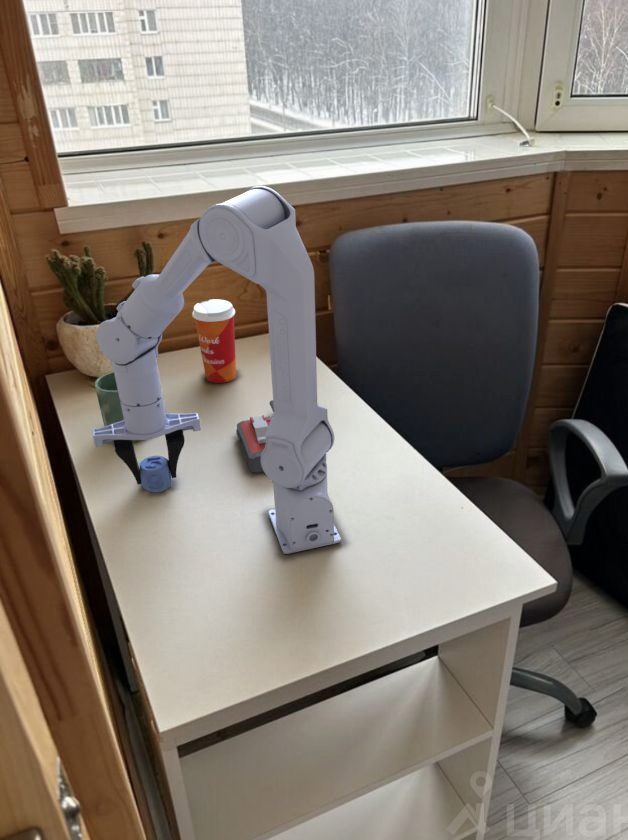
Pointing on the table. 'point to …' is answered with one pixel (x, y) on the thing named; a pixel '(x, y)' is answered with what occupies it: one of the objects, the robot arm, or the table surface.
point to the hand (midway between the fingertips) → (156, 477)
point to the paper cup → (216, 339)
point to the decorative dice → (155, 474)
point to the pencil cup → (109, 399)
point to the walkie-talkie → (254, 439)
